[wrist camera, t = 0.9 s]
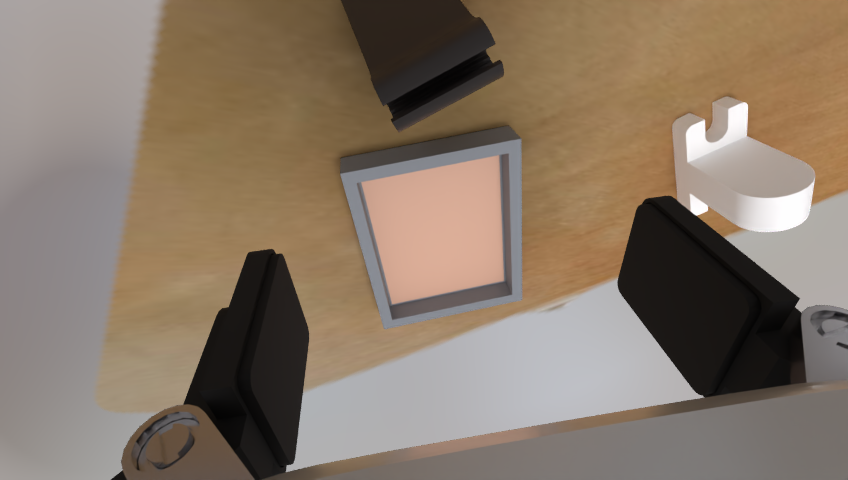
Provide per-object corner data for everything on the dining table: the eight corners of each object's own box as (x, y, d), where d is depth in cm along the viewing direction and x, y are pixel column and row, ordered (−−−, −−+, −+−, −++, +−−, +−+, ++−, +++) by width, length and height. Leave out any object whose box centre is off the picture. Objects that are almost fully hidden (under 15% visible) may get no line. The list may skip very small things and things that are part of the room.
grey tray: (508, 125, 34) (521, 138, 32) (512, 280, 44) (522, 300, 42) (340, 158, 34) (340, 173, 31) (382, 308, 43) (384, 329, 41)
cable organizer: (677, 207, 42) (757, 268, 34) (671, 121, 36) (765, 168, 28) (729, 185, 41) (823, 241, 33) (731, 93, 36) (844, 134, 28)
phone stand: (340, -2, 28) (336, 21, 18) (421, -49, 27) (463, -53, 17) (402, 117, 33) (426, 186, 23) (472, 80, 32) (527, 135, 22)
